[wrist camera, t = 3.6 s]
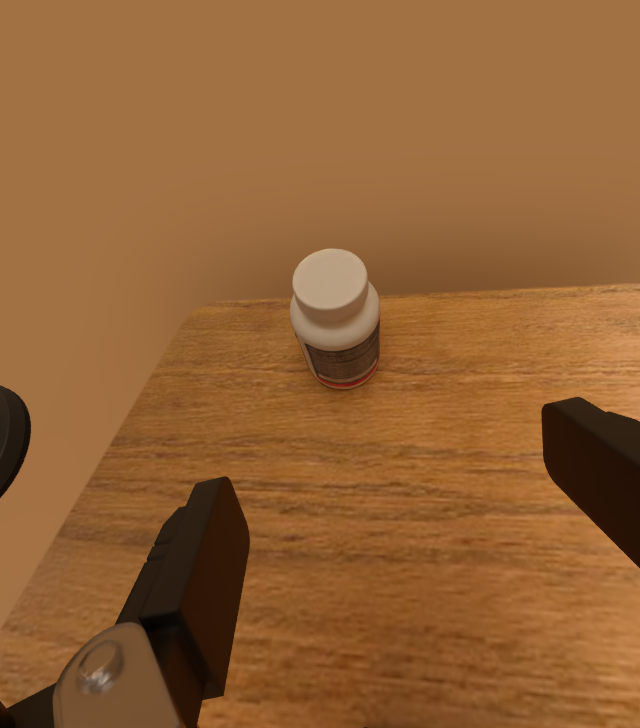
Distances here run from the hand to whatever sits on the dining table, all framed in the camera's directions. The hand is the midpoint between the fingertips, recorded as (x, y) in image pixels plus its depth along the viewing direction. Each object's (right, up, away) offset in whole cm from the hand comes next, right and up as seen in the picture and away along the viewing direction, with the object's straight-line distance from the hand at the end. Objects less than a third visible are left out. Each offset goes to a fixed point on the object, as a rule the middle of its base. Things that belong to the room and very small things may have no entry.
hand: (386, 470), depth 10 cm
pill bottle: (0, +3, +19) cm, 19 cm away
